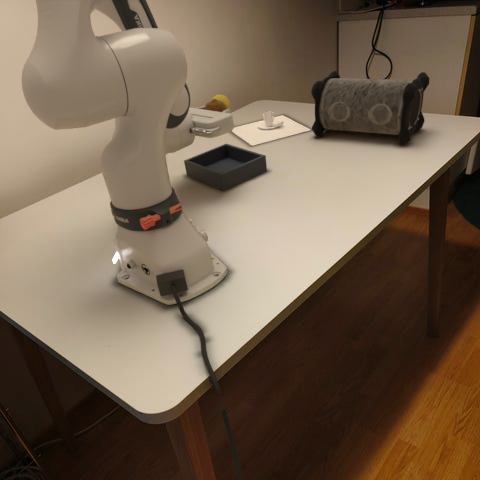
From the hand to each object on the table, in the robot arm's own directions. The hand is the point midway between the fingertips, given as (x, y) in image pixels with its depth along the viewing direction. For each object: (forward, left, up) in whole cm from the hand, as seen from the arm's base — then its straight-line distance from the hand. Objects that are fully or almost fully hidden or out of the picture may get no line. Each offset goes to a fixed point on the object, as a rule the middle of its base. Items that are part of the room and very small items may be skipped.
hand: (217, 110), depth 112 cm
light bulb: (+32, -24, -16) cm, 42 cm away
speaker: (-13, -42, -16) cm, 46 cm away
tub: (0, 0, -16) cm, 16 cm away
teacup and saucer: (+16, -30, -16) cm, 37 cm away
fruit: (0, +1, -5) cm, 5 cm away
